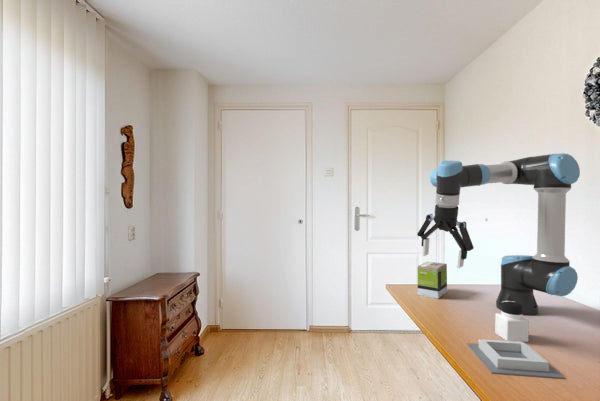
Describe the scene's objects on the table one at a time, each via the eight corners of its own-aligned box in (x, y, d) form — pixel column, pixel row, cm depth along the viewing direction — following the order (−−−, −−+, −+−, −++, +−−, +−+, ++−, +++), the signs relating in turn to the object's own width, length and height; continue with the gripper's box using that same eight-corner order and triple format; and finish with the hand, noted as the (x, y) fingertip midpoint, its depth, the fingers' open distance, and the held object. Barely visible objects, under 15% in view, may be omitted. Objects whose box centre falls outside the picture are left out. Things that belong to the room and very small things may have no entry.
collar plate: (527, 350, 105) (527, 339, 105) (565, 381, 87) (565, 367, 87) (467, 346, 107) (467, 335, 107) (491, 375, 89) (491, 362, 89)
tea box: (427, 289, 173) (427, 260, 173) (447, 292, 167) (447, 263, 167) (416, 295, 161) (417, 265, 161) (438, 299, 155) (438, 268, 155)
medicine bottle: (528, 342, 109) (529, 305, 109) (507, 341, 109) (507, 305, 109) (515, 333, 116) (515, 299, 116) (494, 333, 116) (495, 299, 116)
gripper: (409, 200, 124) (406, 253, 129) (477, 215, 105) (471, 275, 110) (421, 197, 128) (418, 247, 134) (488, 210, 109) (481, 269, 115)
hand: (442, 260), depth 122 cm, fingers open, 13 cm apart
